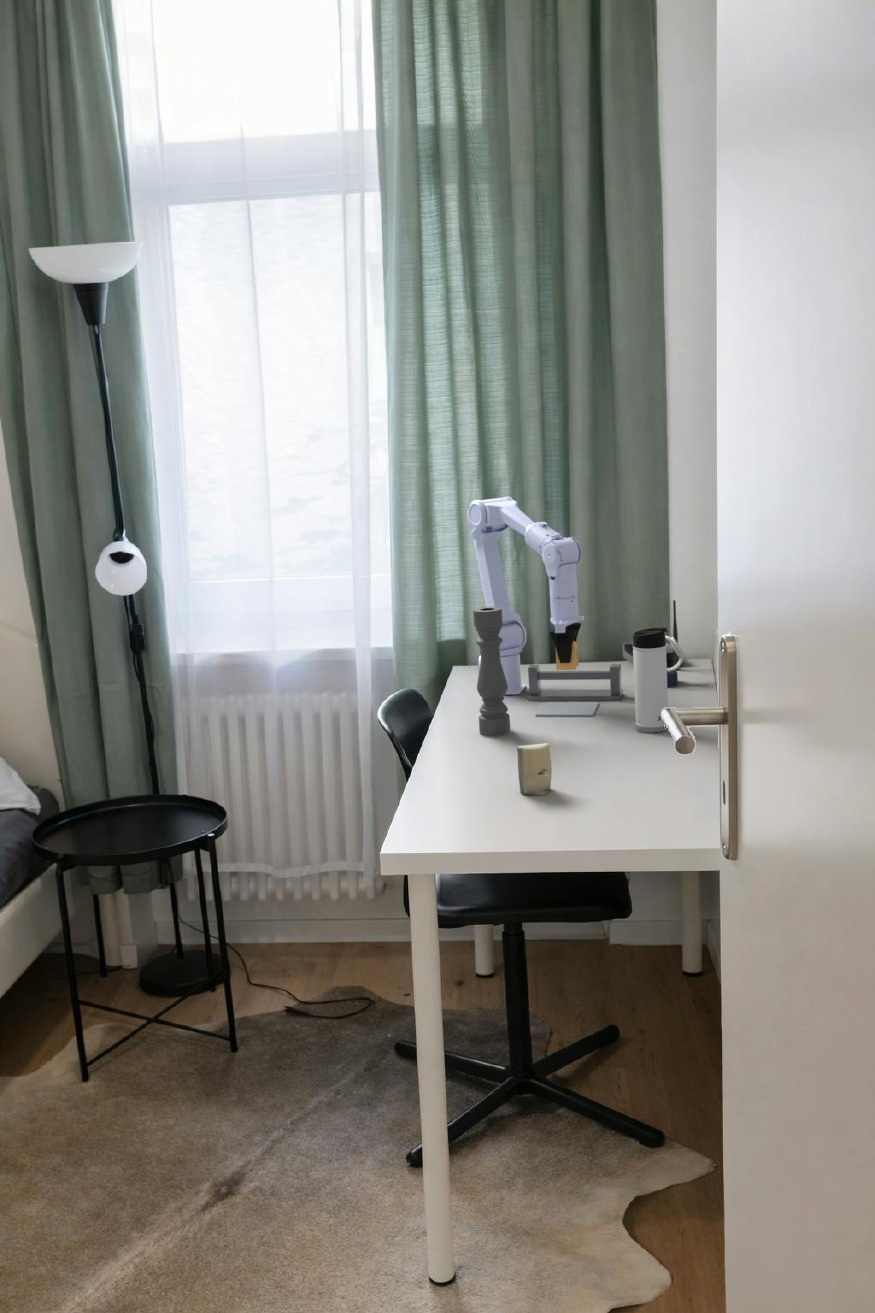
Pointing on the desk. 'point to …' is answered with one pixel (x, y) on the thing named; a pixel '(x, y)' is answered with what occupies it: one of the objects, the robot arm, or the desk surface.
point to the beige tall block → (534, 769)
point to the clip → (572, 663)
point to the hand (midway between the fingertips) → (567, 660)
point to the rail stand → (574, 695)
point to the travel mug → (650, 679)
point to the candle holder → (491, 673)
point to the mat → (567, 709)
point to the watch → (671, 672)
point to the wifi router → (670, 653)
